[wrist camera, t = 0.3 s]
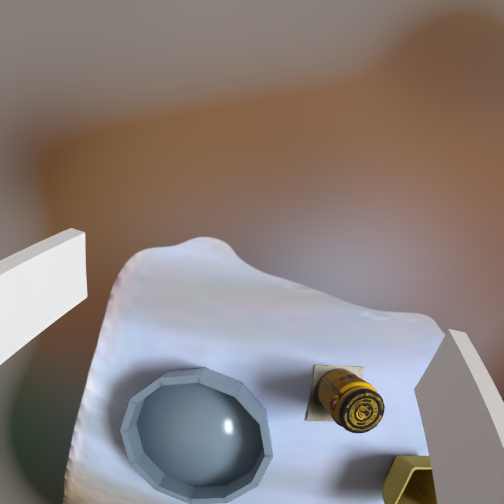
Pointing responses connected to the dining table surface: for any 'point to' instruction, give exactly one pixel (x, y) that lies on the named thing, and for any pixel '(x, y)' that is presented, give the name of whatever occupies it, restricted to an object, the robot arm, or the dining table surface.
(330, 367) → the condiment
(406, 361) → the dining table surface
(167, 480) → the bowl
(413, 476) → the flower pot
